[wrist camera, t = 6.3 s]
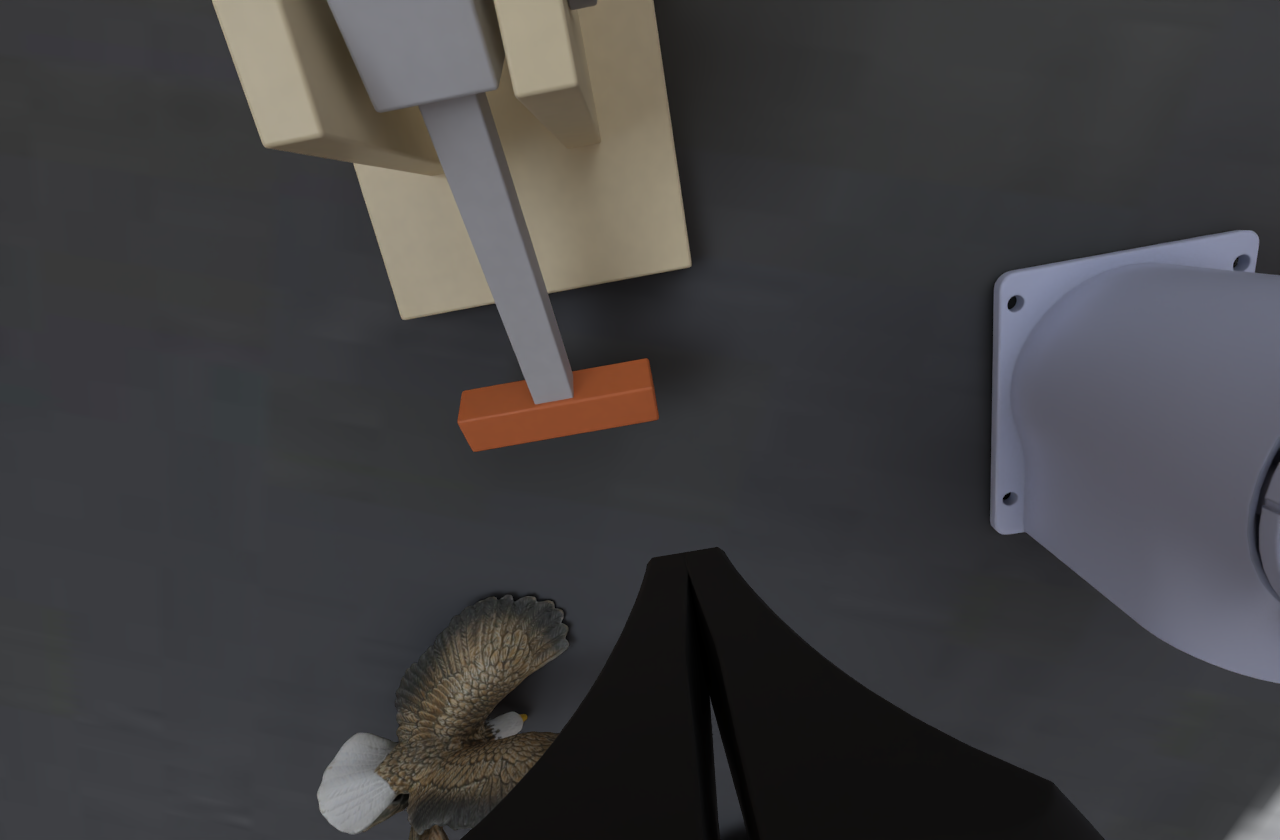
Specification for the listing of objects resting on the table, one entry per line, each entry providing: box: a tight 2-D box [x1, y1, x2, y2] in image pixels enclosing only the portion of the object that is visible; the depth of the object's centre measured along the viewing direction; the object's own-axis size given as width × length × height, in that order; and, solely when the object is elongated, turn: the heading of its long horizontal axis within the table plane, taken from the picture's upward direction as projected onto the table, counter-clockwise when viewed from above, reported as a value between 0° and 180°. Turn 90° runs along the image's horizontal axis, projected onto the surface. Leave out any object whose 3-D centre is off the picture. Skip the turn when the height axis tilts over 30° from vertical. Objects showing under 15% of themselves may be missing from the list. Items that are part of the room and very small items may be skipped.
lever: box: [327, 0, 659, 452], centre depth 13 cm, size 12×6×2 cm, turn 10°
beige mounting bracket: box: [212, 0, 692, 320], centre depth 13 cm, size 12×9×9 cm
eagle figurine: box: [317, 595, 569, 840], centre depth 22 cm, size 8×7×9 cm
